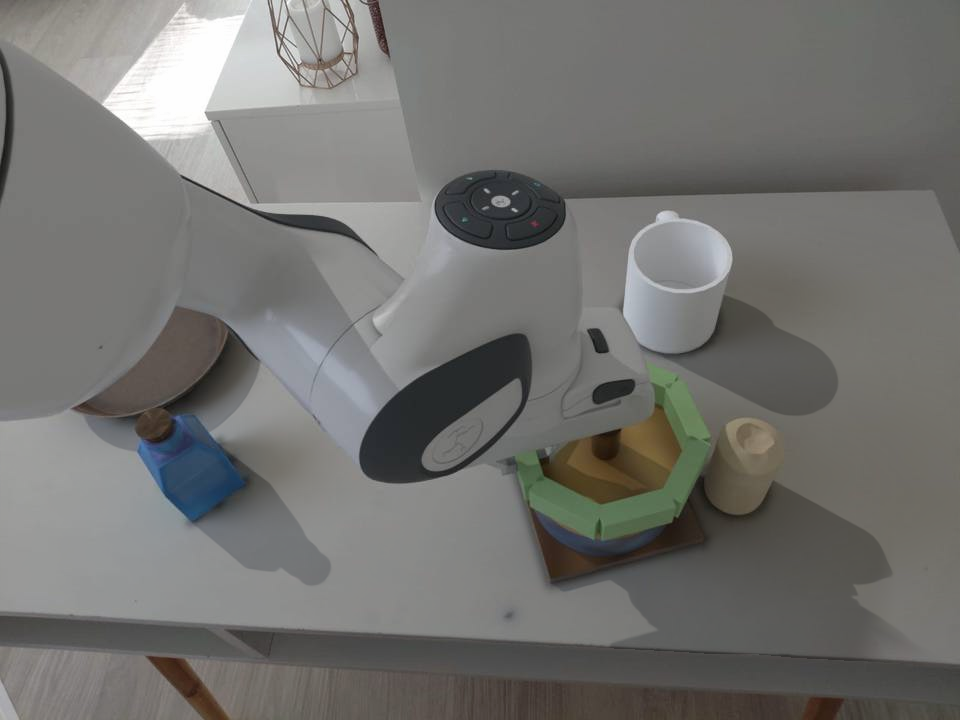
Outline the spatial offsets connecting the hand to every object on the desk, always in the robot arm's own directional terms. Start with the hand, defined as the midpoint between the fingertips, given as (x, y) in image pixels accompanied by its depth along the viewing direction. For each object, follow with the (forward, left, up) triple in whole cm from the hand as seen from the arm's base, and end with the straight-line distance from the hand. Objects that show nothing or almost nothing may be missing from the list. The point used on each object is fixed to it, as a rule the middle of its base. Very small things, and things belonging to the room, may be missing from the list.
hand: (526, 462), depth 64 cm
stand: (+7, 0, -10) cm, 12 cm away
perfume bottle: (-31, +12, -10) cm, 35 cm away
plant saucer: (-37, +31, -10) cm, 49 cm away
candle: (+19, -3, -10) cm, 22 cm away
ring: (+7, 0, 0) cm, 7 cm away
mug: (+21, +19, -10) cm, 30 cm away
